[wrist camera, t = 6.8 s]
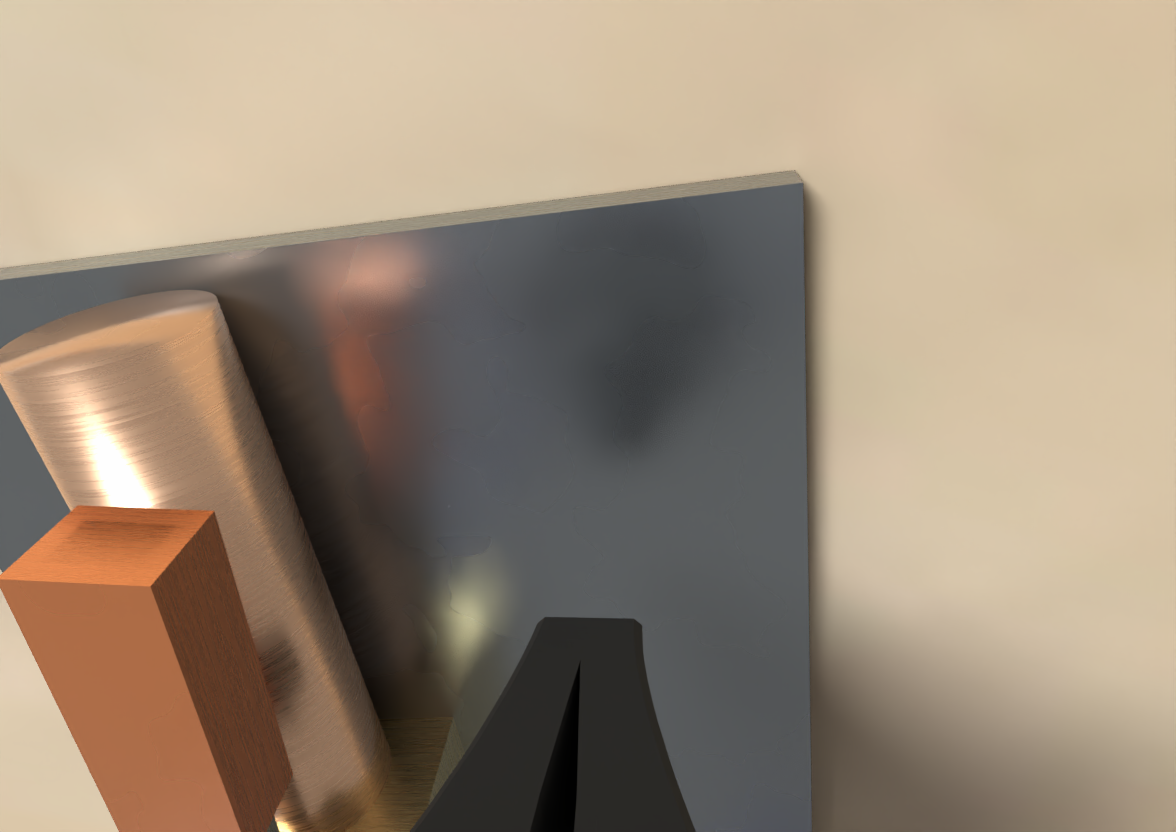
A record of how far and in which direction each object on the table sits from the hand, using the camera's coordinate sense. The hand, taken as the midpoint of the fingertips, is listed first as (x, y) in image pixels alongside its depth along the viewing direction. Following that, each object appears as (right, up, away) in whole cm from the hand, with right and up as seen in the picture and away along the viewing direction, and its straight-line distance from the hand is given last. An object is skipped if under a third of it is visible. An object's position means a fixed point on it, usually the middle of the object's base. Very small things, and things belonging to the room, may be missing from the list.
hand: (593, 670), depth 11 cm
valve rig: (-3, -3, +7) cm, 8 cm away
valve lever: (-6, -3, +2) cm, 7 cm away
